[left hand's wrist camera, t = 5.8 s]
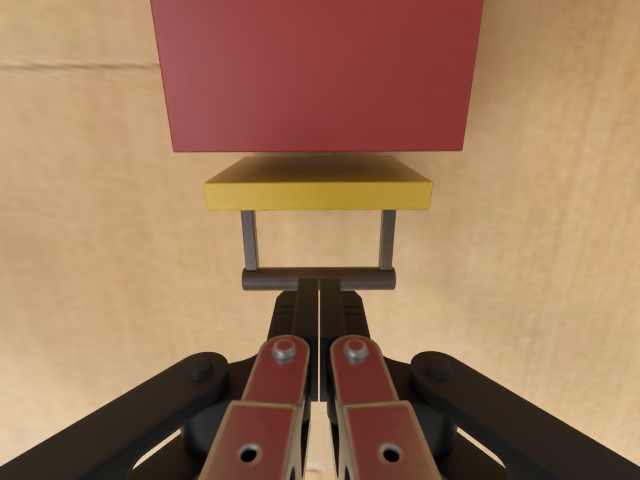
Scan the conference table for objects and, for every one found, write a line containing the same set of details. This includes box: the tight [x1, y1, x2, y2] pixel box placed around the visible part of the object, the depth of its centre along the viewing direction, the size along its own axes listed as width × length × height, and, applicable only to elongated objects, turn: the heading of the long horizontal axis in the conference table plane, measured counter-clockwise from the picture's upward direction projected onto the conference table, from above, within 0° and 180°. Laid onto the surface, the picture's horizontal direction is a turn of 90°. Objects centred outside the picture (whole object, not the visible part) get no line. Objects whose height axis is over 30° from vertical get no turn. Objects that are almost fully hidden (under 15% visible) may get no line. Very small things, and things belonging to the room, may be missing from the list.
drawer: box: [204, 156, 433, 291], centre depth 16 cm, size 22×9×8 cm, turn 0°
